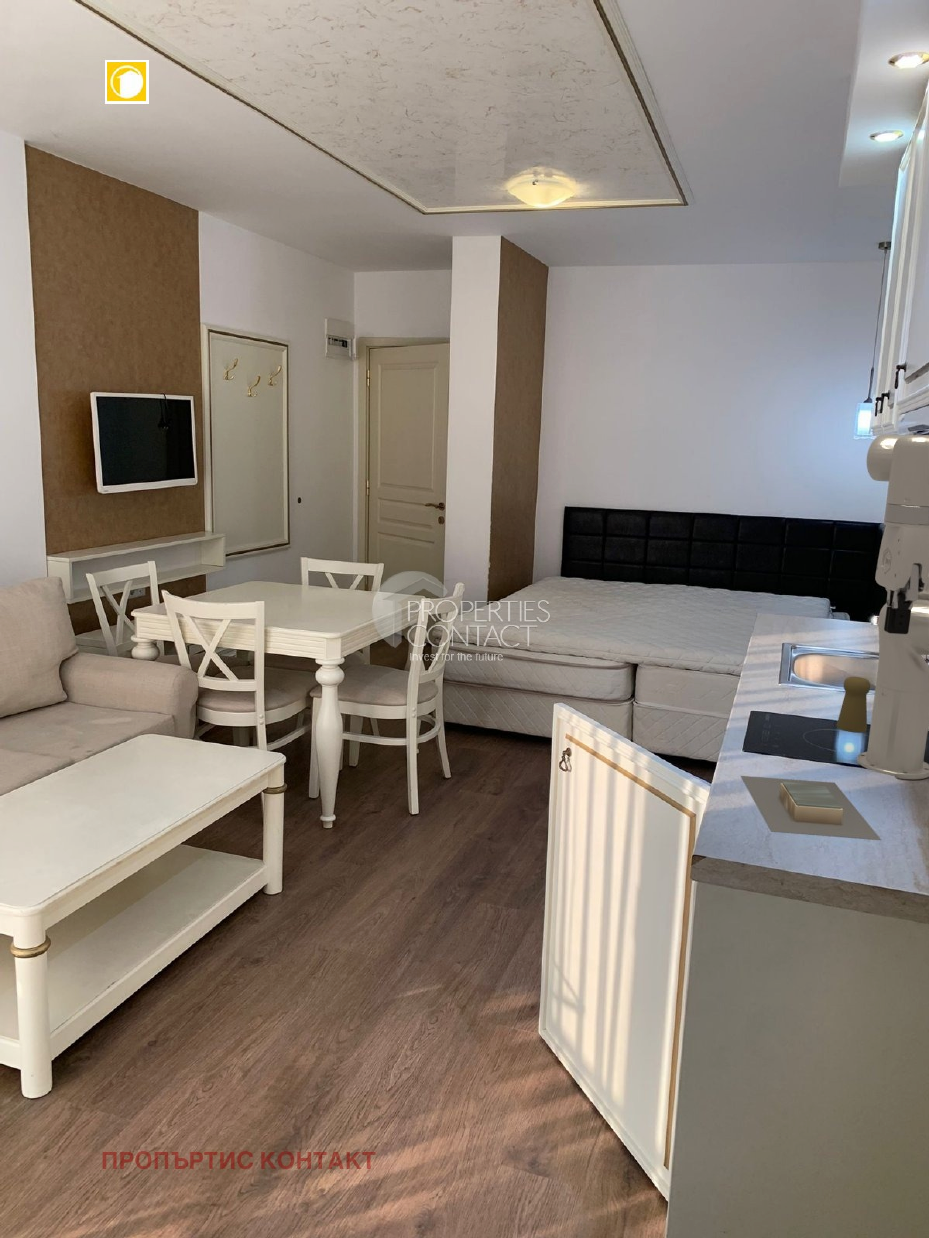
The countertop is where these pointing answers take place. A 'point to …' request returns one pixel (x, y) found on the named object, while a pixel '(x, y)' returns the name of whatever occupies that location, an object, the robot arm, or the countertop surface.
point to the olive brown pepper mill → (854, 705)
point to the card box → (810, 803)
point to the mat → (781, 821)
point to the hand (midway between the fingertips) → (895, 632)
